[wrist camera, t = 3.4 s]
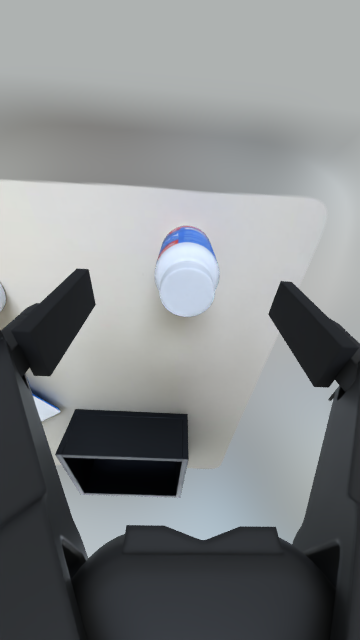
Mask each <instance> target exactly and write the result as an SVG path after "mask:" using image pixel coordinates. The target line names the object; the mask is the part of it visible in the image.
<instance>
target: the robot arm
mask: <svg viewBox="0 0 360 640" xmlns="http://www.w3.org/2000/svg"><path fill="white" fill-rule="evenodd" d="M94 306H95V300H94V294H93V289H92V284H91V279H90V274H89V269H76V270H75V271H74V272H73V273H72V274H71V275H70V276H69V277H67V278H66V279H65V280H64V281H63V282H62V283H61V284H60V285H59V286H58V287H57V288H56V289H55V290H54V291H53V292H51V293H50V294H49V295H48V296H47V297H46V298H45V299H44V300H43V301H42V302H41V303H36V304H34V305H32V306H30V307H28V308H26V309H25V310H24V311H23V312H22V313H21V314H20V315H18V316H17V317H16V318H15V320H13V321H12V322H10V323H9V324H8V325H7V326H6V327H5V328H4V329H2V330H0V640H360V343H358V342H357V341H356V340H355V339H354V338H353V337H352V336H350V334H349V333H348V332H347V331H345V329H344V328H343V327H342V326H340V325H339V324H338V323H336V322H335V321H333V320H331V319H329V318H328V317H327V316H326V315H325V314H324V313H323V312H322V311H321V310H320V309H319V308H318V307H317V306H316V305H315V304H314V303H313V302H312V301H310V300H309V299H308V298H307V297H306V296H305V295H304V294H303V293H302V292H301V291H300V290H299V289H298V288H297V287H296V286H295V285H294V284H293V283H292V282H284V281H281V282H280V285H279V287H278V290H277V293H276V295H275V298H274V301H273V303H272V306H271V309H270V311H269V314H268V315H269V316H270V318H271V319H272V321H273V322H274V324H275V326H276V327H277V329H278V330H279V332H280V334H281V335H282V337H283V338H284V340H285V341H286V343H287V345H288V346H289V348H290V349H291V351H292V353H293V354H294V356H295V357H296V359H297V360H298V362H299V364H300V365H301V367H302V368H303V370H304V372H305V373H306V375H307V376H308V378H309V379H310V381H311V383H312V384H313V386H314V387H329V386H330V385H331V384H332V382H333V381H334V380H336V381H337V383H338V384H339V385H340V386H339V387H338V388H337V389H336V391H335V392H334V393H333V394H332V395H331V397H330V398H329V400H330V401H331V400H332V399H333V404H332V408H331V412H330V416H329V420H328V424H327V429H326V432H325V436H324V440H323V444H322V449H321V453H320V457H319V461H318V465H317V469H316V473H315V477H314V482H313V486H312V489H311V494H310V498H309V502H308V506H307V510H306V514H305V518H304V521H303V523H302V526H301V527H300V529H299V531H298V532H297V534H296V536H295V538H294V541H293V544H290V543H288V542H287V541H284V540H283V539H281V538H279V537H278V533H277V530H276V527H238V528H235V529H233V530H230V531H228V532H225V533H222V534H220V535H218V536H215V537H212V538H210V539H207V540H199V539H197V538H194V537H191V536H189V535H186V534H184V533H181V532H179V531H176V530H174V529H171V528H168V527H166V526H140V525H139V526H138V525H137V526H136V525H127V526H126V533H125V534H124V535H121V536H118V537H116V538H115V539H113V540H111V541H109V542H108V543H106V544H105V545H103V546H102V547H101V548H99V549H98V550H97V551H96V552H95V553H94V554H93V555H92V556H91V557H89V558H88V556H87V554H86V551H85V547H84V545H83V542H82V539H81V537H80V534H79V532H78V530H77V528H76V525H75V523H74V521H73V518H72V516H71V513H70V509H69V506H68V503H67V500H66V497H65V494H64V491H63V488H62V485H61V482H60V479H59V475H58V472H57V469H56V466H55V463H54V460H53V457H52V454H51V451H50V448H49V445H48V441H47V438H46V435H45V432H44V429H43V426H42V423H41V420H40V417H39V414H38V411H37V407H36V404H35V401H34V398H33V395H32V392H31V389H30V386H29V383H28V380H27V377H26V375H25V373H26V371H27V370H28V369H29V367H30V369H31V371H32V373H33V375H34V376H51V374H52V373H53V371H54V370H55V368H56V366H57V365H58V363H59V362H60V360H61V359H62V357H63V355H64V354H65V352H66V351H67V349H68V347H69V346H70V344H71V343H72V341H73V340H74V338H75V336H76V335H77V333H78V332H79V330H80V329H81V327H82V325H83V324H84V322H85V321H86V319H87V317H88V316H89V314H90V313H91V311H92V310H93V308H94Z"/></svg>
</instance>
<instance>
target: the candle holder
mask: <svg viewBox="0 0 360 640" xmlns="http://www.w3.org/2000/svg"><path fill="white" fill-rule="evenodd" d="M5 303H6V295H5V292H4V289H3V287H2V285H1V284H0V311H1V310H2V309H3V308H4V306H5Z"/></svg>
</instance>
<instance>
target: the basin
mask: <svg viewBox="0 0 360 640" xmlns="http://www.w3.org/2000/svg"><path fill="white" fill-rule="evenodd" d="M55 455H56V457H57V458H58V460H59V461H60V463H61V464H62V466H63V468H64V469H65V471H66V472H67V474H68V475H69V477H70V479H71V480H72V482H73V483H74V485H75V486H76V488H77V490H78V491H79V493H80V494H81V495H112V496H145V497H177V498H180V497H181V492H182V487H183V482H184V478H185V473H186V469H187V464H188V417H187V414H170V413H147V412H125V411H102V410H79V409H75V411H74V414H73V416H72V418H71V420H70V423H69V425H68V427H67V429H66V432H65V434H64V436H63V438H62V440H61V443H60V445H59V447H58V449H57V451H56V454H55Z"/></svg>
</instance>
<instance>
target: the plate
mask: <svg viewBox="0 0 360 640" xmlns="http://www.w3.org/2000/svg"><path fill="white" fill-rule="evenodd" d="M32 395H33V398H34V401H35V404H36V407H37V411H38V414H39V417H40V420H41V421H43V420H45V419H47V418H49V417H51V416H53V415H55V414H58V413H60V410H59V408H57V407H56V406H54V405H52V404H50V403H48V402H47V401H45V400H43V399H41V398H40V397H38V396H36V395H34V394H33V393H32Z"/></svg>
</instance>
